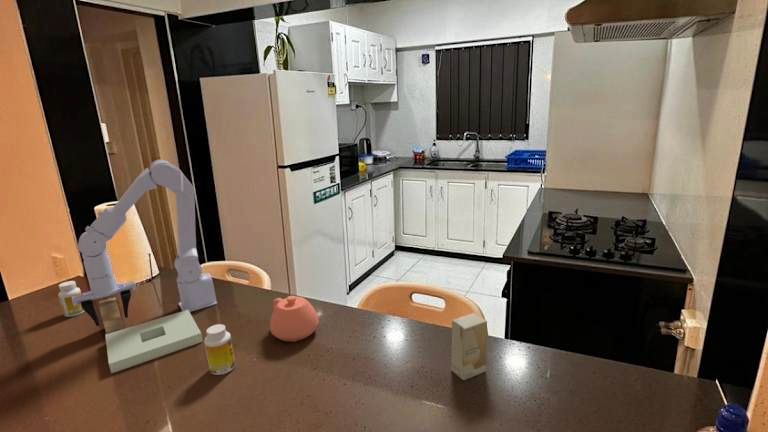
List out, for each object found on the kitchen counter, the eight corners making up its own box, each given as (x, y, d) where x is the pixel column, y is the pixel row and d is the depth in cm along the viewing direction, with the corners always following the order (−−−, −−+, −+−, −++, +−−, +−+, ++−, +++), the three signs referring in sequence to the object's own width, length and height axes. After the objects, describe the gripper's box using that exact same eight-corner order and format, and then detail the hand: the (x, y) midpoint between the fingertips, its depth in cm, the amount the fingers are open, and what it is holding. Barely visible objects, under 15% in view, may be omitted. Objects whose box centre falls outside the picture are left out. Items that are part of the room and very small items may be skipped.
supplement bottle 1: (90, 308, 128) (82, 279, 125) (76, 317, 123) (67, 287, 120) (74, 308, 128) (66, 279, 126) (59, 317, 123) (50, 287, 121)
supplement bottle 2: (237, 371, 94) (230, 331, 91) (211, 379, 91) (203, 338, 89) (234, 358, 98) (227, 319, 96) (209, 365, 96) (201, 326, 93)
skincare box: (463, 381, 86) (463, 329, 83) (450, 370, 90) (450, 319, 87) (487, 371, 89) (488, 320, 86) (474, 360, 93) (474, 311, 89)
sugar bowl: (293, 352, 100) (288, 314, 97) (257, 335, 108) (251, 299, 105) (329, 328, 109) (325, 293, 106) (293, 314, 117) (289, 281, 115)
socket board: (189, 317, 119) (188, 309, 118) (202, 341, 106) (201, 332, 106) (107, 343, 108) (105, 334, 107) (111, 373, 95) (108, 364, 95)
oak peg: (122, 322, 118) (115, 297, 116) (123, 328, 115) (116, 302, 113) (105, 327, 116) (98, 301, 114) (106, 333, 113) (99, 307, 111)
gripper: (130, 263, 118) (140, 306, 122) (67, 277, 110) (80, 323, 114) (132, 270, 113) (143, 315, 116) (66, 286, 105) (80, 334, 108)
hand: (112, 320), depth 115 cm, fingers open, 6 cm apart
